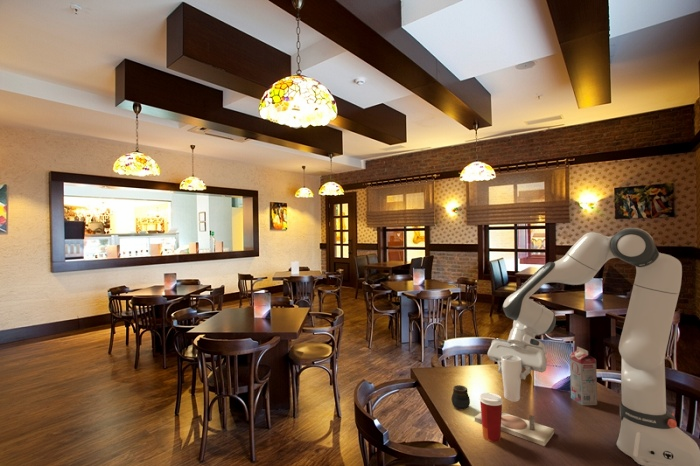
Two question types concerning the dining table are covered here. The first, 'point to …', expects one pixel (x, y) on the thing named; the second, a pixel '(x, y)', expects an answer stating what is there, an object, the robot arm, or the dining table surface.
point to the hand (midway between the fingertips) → (511, 375)
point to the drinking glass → (511, 378)
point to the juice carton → (583, 377)
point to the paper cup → (491, 416)
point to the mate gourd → (460, 397)
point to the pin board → (523, 428)
